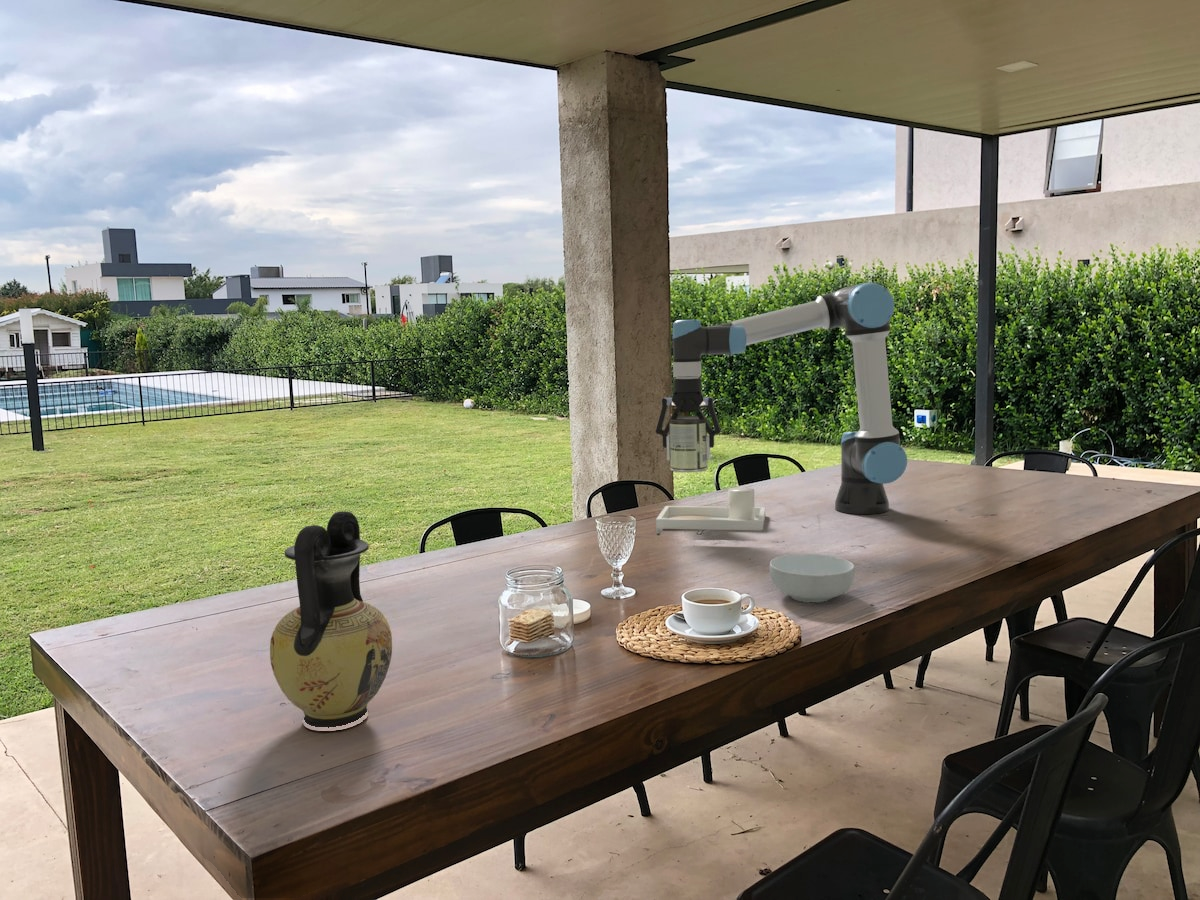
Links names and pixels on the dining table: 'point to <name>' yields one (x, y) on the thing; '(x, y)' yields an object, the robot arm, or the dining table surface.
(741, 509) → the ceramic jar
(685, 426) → the coffee can
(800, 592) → the cereal bowl
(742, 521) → the tray
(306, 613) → the amphora
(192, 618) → the dining table surface
